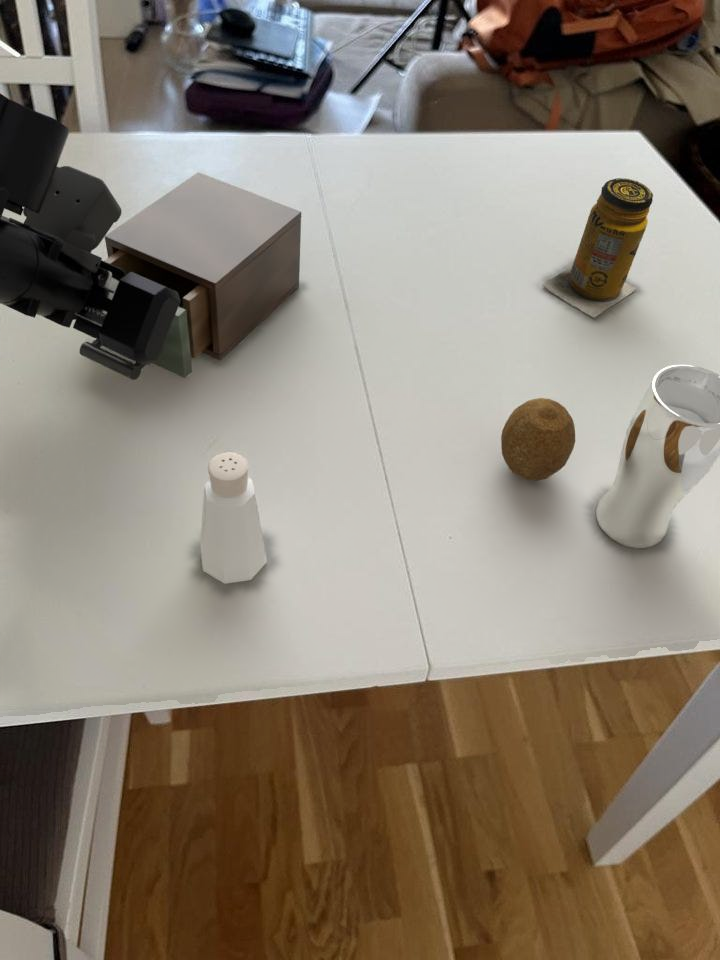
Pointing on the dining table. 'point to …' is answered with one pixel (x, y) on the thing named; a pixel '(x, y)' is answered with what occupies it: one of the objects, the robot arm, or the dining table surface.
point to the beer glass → (663, 454)
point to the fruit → (538, 439)
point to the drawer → (186, 329)
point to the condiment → (606, 248)
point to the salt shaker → (231, 522)
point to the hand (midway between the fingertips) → (126, 307)
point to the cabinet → (220, 251)
